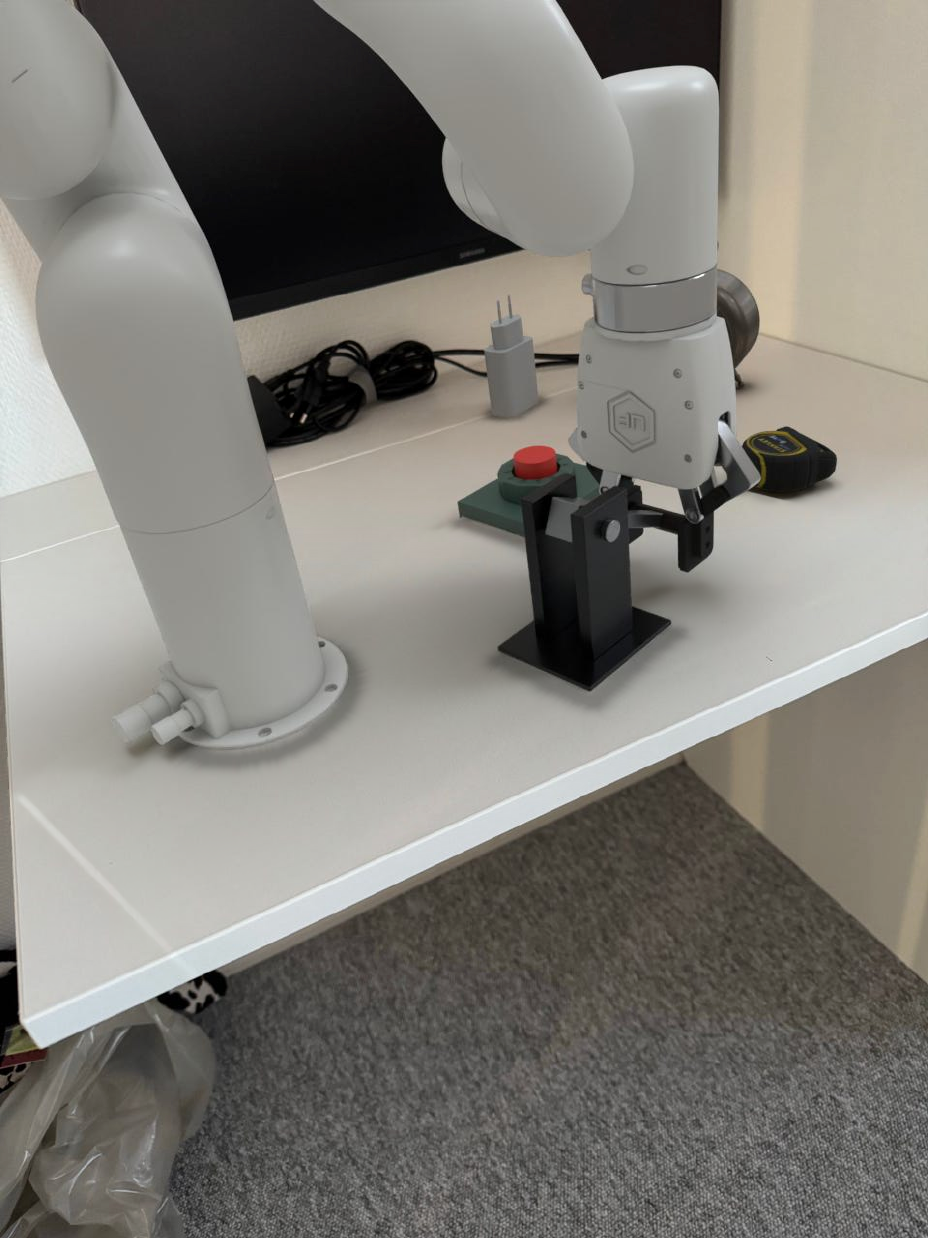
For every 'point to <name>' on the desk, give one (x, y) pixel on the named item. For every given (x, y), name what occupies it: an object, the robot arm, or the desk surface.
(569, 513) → the lever
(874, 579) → the desk surface
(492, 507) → the green switch base
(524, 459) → the button
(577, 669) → the bracket
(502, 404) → the power adapter
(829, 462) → the tape measure
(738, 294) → the alarm clock
